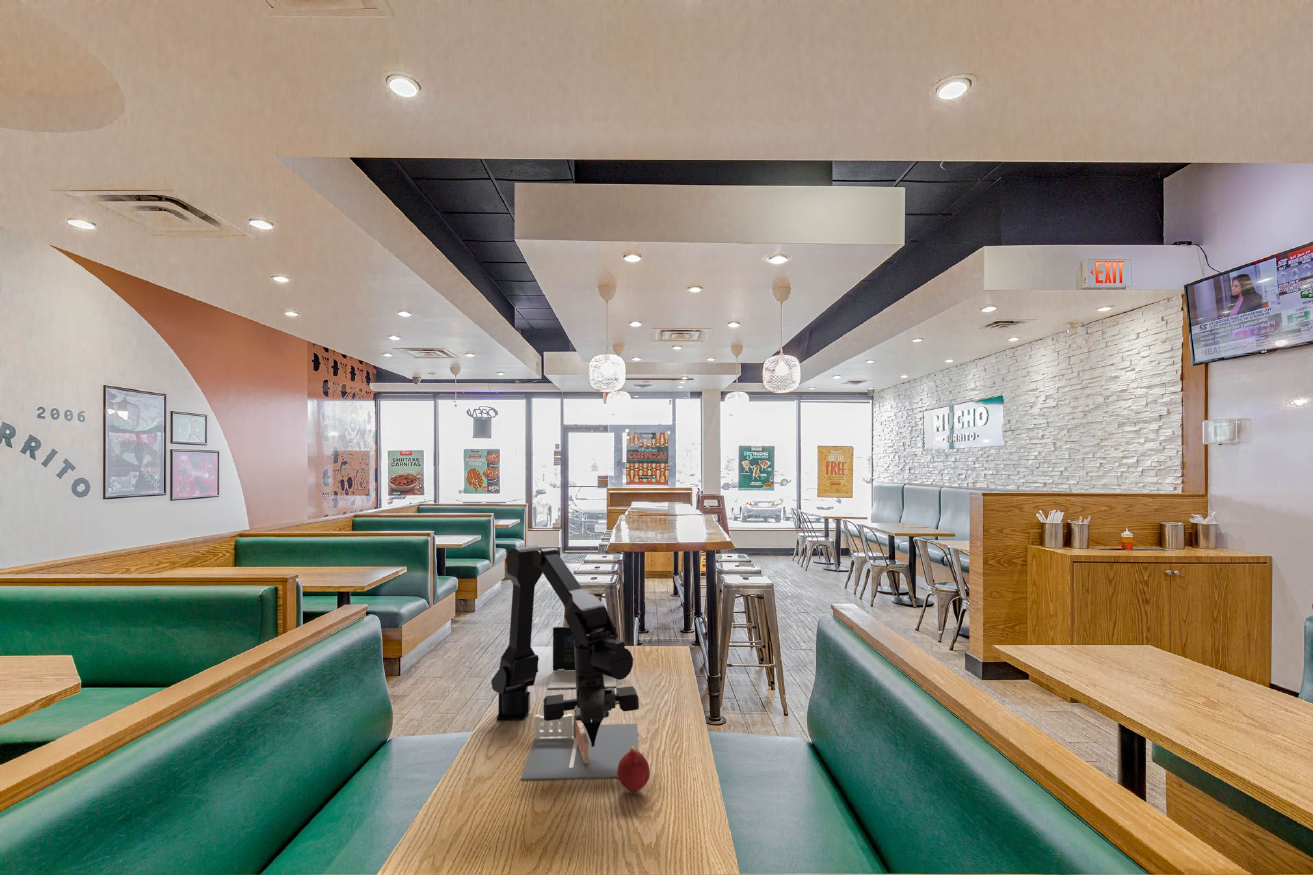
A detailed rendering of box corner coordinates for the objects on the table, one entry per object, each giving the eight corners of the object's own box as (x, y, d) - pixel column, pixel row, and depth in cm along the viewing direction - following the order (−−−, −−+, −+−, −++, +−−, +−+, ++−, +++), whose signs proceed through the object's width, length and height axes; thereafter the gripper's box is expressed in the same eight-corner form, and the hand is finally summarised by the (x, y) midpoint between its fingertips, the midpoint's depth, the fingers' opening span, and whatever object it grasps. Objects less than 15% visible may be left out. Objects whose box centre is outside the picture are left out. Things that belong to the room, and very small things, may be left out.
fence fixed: (534, 739, 126) (535, 716, 126) (535, 737, 127) (535, 714, 127) (571, 738, 126) (571, 715, 127) (572, 736, 127) (572, 713, 128)
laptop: (547, 690, 154) (547, 640, 155) (552, 673, 167) (552, 626, 167) (616, 689, 155) (616, 638, 156) (616, 672, 168) (616, 625, 168)
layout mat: (520, 780, 111) (520, 778, 111) (538, 727, 132) (538, 725, 133) (638, 777, 112) (638, 775, 112) (637, 725, 134) (637, 723, 134)
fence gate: (572, 735, 127) (573, 714, 128) (579, 734, 128) (579, 713, 128) (582, 765, 115) (582, 742, 115) (590, 764, 115) (590, 741, 115)
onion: (654, 786, 108) (654, 742, 109) (643, 804, 103) (643, 757, 103) (624, 781, 110) (624, 737, 110) (612, 797, 105) (612, 751, 105)
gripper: (541, 687, 110) (545, 773, 109) (641, 676, 113) (644, 759, 113) (542, 667, 121) (545, 744, 120) (633, 657, 124) (636, 732, 124)
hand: (592, 745), depth 119 cm, fingers closed
